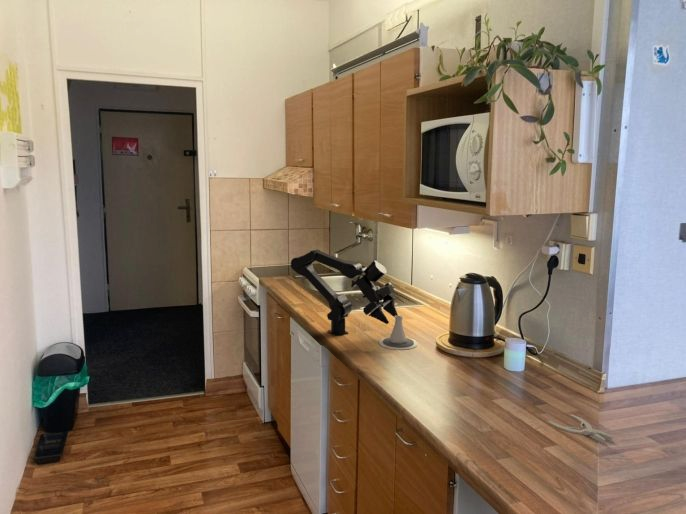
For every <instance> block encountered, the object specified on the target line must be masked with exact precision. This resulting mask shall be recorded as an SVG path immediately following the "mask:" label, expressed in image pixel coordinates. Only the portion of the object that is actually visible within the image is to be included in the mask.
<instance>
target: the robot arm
mask: <svg viewBox="0 0 686 514" xmlns="http://www.w3.org/2000/svg"><path fill="white" fill-rule="evenodd" d="M314 262H318V263H321V264H322V265H325V266H327V267H330V268H332V269H335V270H337V271H339V273H341V274H342V275H343V276H344V277H346V278H348V279H352V280H351V285H350V286H351V287H350V288H355V287H357V288H358V289H359V290H360V292H361V293H362V294H363V295H362V298H363V299H366V300H367V301H368V304H366V305H365V306H364V307H363V313H364V315H365V316H369V317H372V318H374V319H376V320H378V321H380V322H382V323H384V324H386V325H388V324H389V323H390V320H388V318H387V317H386V315H385V313H384V311H385V312H387V313H388V314H389V315H391V316H392V317H394V318H395V316H399V315H398V313H397V312H398V311H397V309H396V306H395V301H396V297H397V296H396V295H395V289H394V288H395V285H394V284H392V283H391V282H389V281H388V282H387V283H384V286H382V287H380V286H379V285H375V283H377V282H378V281H379V280H381V278H382V277H383V278H384V276H385V275H386V274H387V272H388V270H387V268H386V267H385V266H384V265H382V264H381V262H378V261H377V260H376V259H375V260H373V261H371V263H370V264H369V265H368V266H364V265H362V264H361V263H360V262H358V261H353V260H344V259H341V258H340V257H337V256H334V255H331V254H329V253H326V252H324V251H321V250H320V249H314V250H310V251H309V252H308V253H305V254H303V255H301V256H297V257H293V258H292V259H291V261H290V268H291V270H292V271H294V272H295V273H296V274H298V275H300V276H302V277H304V278H305V279H306V280H307V281H308V282H309V283H310V284H311V285H312V286H313V287H314V289H315V290H317V291H318V293H319V294H320V295H321V296H322V297H323V298H324V299H325V300H326V301H327V303H328V306H329V309H330V312H329V313H327V315H326V317H327V320H328V321H330V329H328V330H327V333H329V334H331V335H334V336H341V335H346V334H347V335H348V334H349V331H347V330H346V318H348V317H349V315H350V314H351V312H352V310H353V304H352V303H351V299H349V298H348V297H347V296H346V295H345V294H344V293H343V294H340V295H339V294H338V293H336V291H335V290H334V289H332V287H330V285H329V284H328V283H327V282H326V281H325V280H324V278H323V277H321V276H320V275H319V274H318V272H317V271H316V270H315V268H314V264H313V263H314ZM355 278H356V279H355ZM383 310H384V311H383Z"/></svg>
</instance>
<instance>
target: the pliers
mask: <svg viewBox="0 0 686 514" xmlns="http://www.w3.org/2000/svg"><path fill="white" fill-rule="evenodd" d="M570 417H572V418H574V419H575V420H577V421H578V422H580V428H579V427H575V426H563V425H561V424H559V423H556V422H553V421H552V420H548V421H547V424H549V425H551V426H552V427H553V426H554V427H555V428H558V429H560V430H562V431H566V432H569V433H572V434H573V433H574V434H580V435H584V436H589V437H590V438H592V439H593V440H595V441H597V442H599V443H601V444H603V445H604V444H606V441H609V442H612V441H613V436H612V435H611V434H608V433H606V432H604V431H601V430H599V429H595V428H593V426H592V425H591V424H590V423H589V422H588V421H586V420H585V419H583V418H582V417H579V416H577V415H574V414H573V413H572V414H570ZM583 425H584V426H583ZM584 427H585V428H584Z"/></svg>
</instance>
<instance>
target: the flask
mask: <svg viewBox="0 0 686 514" xmlns="http://www.w3.org/2000/svg"><path fill="white" fill-rule="evenodd" d="M403 318H404V316H402V315H398V316H395V317H394V319H395V320H394V325H393V328H392V331H391V333H390V336H389V337H390V338H389V342H392V343H398V344H402V343H407V340H406V338H407V337H406V334H405V333H406V332H405V330H404V327H403Z"/></svg>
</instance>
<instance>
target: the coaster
mask: <svg viewBox="0 0 686 514" xmlns="http://www.w3.org/2000/svg"><path fill="white" fill-rule="evenodd" d="M389 338H390V336H389V337H384V338H381V339H380V340H379V341H378V344H379V345H380V346H381V347H382V348H385V349H390V350H395V351H396V350H397V351H398V350H399V351H403V350H404V351H405V350H406V351H407V350H413V349H415V348H417V347H418V344H419V342H417V340H415V339H412V338H409V337H406V340H407V343H402V344H398V343H392V342H389Z"/></svg>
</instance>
